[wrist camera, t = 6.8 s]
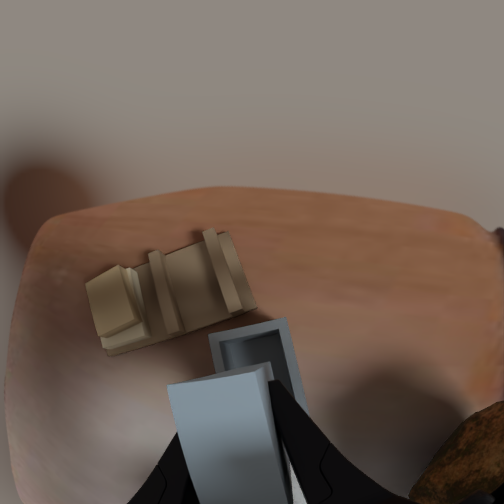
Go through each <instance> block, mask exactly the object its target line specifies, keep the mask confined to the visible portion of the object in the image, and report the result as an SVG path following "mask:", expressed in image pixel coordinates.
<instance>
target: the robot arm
mask: <svg viewBox="0 0 504 504" xmlns="http://www.w3.org/2000/svg"><path fill="white" fill-rule="evenodd" d="M268 387H269V393H270V400H271V407H272V413H273V416H274V419H275V422H276V425H277V427H278V430H279V433H280V436H281V439H282V441H283V444H284V447H285V449H286V452H287V455H288V457H289V460H290V462H291V465H292V468H293V470H294V473H295V475H296V478H297V480H298V483H299V485H300V488H301V490H302V493H303V495H304V498H305V500H306V503H307V504H422V503H418V502H415V501H412V500H409V499H406V498H404V497H401V496H398V495H396V494H394V493H392V492H390V491H388V490H386V489H385V488H383V487H382V486H380V485H379V484H378V483H376V482H375V481H374V480H372V479H371V478H370V477H368V476H367V475H366V474H364V473H363V472H362V471H360V470H359V469H358V468H357V467H355V466H354V465H353V464H352V463H351V462H350V461H349V460H347V459H346V458H345V457H344V456H343V455H342V454H341V452H340V451H339V450H338V449H337V448H336V447H335V446H334V445H333V444H332V443H330V440H329V439H328V438H327V437H326V436H325V435H324V433H323V432H322V431H321V430H320V429H319V428H318V426H317V425H316V424H315V423H314V422H313V420H312V419H311V418H310V417H309V416H308V414H307V413H306V412H305V411H304V410H303V408H302V407H301V406H300V405H299V403H298V402H297V401H296V400H295V399H294V397H293V396H292V395H291V394H290V392H289V391H288V390H287V389H286V387H285V386H284V385H283V383H282V382H281V381H280V380H279V379H275V380H270V381H268ZM127 504H200V502H199V499H198V496H197V493H196V491H195V488H194V485H193V482H192V479H191V476H190V473H189V470H188V467H187V464H186V460H185V457H184V454H183V450H182V447H181V443H180V440H179V436H178V432H177V433H176V434H175V436H174V437H173V439H172V441H171V442H170V444H169V446H168V447H167V449H166V451H165V452H164V454H163V455H162V457H161V459H160V460H159V462H158V465H156V466H155V468H154V470H153V471H152V473H151V474H150V476H149V477H148V479H147V480H146V482H145V483H144V484H143V485H142V487H141V488H140V489H139V490H138V492H137V493H136V494H135V495H134V496H133V498H132V499H131V500H130V501H129V502H128V503H127ZM453 504H504V481H503V482H502V483H501V484H500V485H499V486H498V487H496V488H495V489H494V490H493V491H492V492H490V493H487V492H484V491H482V490H480V489H477V490H475V491H474V492H472V493H470V494H469V495H467V496H465V497H464V498H462V499H460V500H458V501H457V502H455V503H453Z"/></svg>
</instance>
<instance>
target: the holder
mask: <svg viewBox="0 0 504 504" xmlns="http://www.w3.org/2000/svg"><path fill="white" fill-rule="evenodd" d="M208 338H209V343H210V348H211V353H212V358H213V363H214V368H215V372H216V374H217V373H221V372H225V371H228V370H232V369H236V368H241V367H246V366H251V365H256V364H260V363H265V362H269V361H270V363H271V367H272V372H273V376H274V380H275V379H279V380H280V381H281V382H282V383H283V385H284V386H285V387H286V389H287V390H288V391H289V392H290V394H291V395H292V396H293V397H294V399H295V400H296V401H297V402H298V403H299V405H300V406H301V407H302V408H303V410H304V411H305V412H306V413H307V414H308V416H309V411H308V407H307V402H306V398H305V394H304V390H303V385H302V381H301V377H300V373H299V368H298V364H297V360H296V356H295V352H294V348H293V343H292V339H291V335H290V331H289V327H288V323H287V319H286V317H284V318H280V319H275V320H271V321H267V322H263V323H258V324H254V325H250V326H245V327H240V328H236V329H231V330H226V331H221V332H216V333H211V334H208ZM309 417H310V416H309Z"/></svg>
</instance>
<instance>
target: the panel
mask: <svg viewBox="0 0 504 504" xmlns="http://www.w3.org/2000/svg"><path fill="white" fill-rule="evenodd" d="M270 380H274V376H273V372H272V367H271V363H270V361H269V362H265V363H260V364H256V365H251V366H246V367H241V368H236V369H232V370H228V371H225V372H221V373H217V374H213V375H209V376H205V377H201V378H197V379H192V380H188V381H183V382H179V383H174V384H169V385H167V390H168V394H169V399H170V403H171V408H172V412H173V416H174V420H175V424H176V428H177V432H178V436H179V440H180V443H181V447H182V450H183V454H184V457H185V460H186V464H187V467H188V470H189V473H190V476H191V479H192V482H193V485H194V488H195V491H196V493H197V496H198V499H199V502H200V504H293V493H292V482H291V470H290V460H289V457H288V455H287V452H286V449H285V447H284V444H283V441H282V439H281V436H280V433H279V430H278V427H277V425H276V422H275V419H274V416H273V413H272V407H271V400H270V393H269V387H268V381H270Z"/></svg>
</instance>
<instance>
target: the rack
mask: <svg viewBox="0 0 504 504" xmlns="http://www.w3.org/2000/svg"><path fill="white" fill-rule="evenodd" d="M202 233H203V236H204V239H205V240H204V241H201V242H199V243H196V244H193V245H191V246H188V247H186V248H183V249H181V250H178V251H176V252H173V253H171V254H168V255H166V256H165V255H164V254H163V253H162V252H161V251H160V250H156V251H153V252H151V253H148V256H149V261H150V262H148V263H146V264H143V265H141V266H138V267H136V268H134V269H131V268H127V269H124V268H123V267H121V266H120V265H117V266H115V267H113V268H112V269H110V270H108V271H106V272H105V273H103V274H101V275H99V276H98V277H96V278H94V279H92V280H91V281H89V282H87V283H86V284H85V286H86V290H87V295H88V300H89V304H90V308H91V312H92V316H93V320H94V324H95V328H96V331H97V335H98V337H100V338H101V343H102V347H103V348H104V349H106V350H107V354H108V356H115V355H119V354H122V353H125V352H129V351H132V350H136V349H139V348H142V347H146V346H149V345H152V344H156V343H159V342H162V341H165V340H168V339H171V338H174V337H178V336H181V335H184V334H187V333H190V332H193V331H196V330H199V329H202V328H204V327H207V326H210V325H213V324H216V323H219V322H222V321H224V320H227V319H230V318H233V317H236V316H238V315H241V314H244V313H246V312H249V311H252V310H254V309H257V306H256V303H255V301H254V298H253V295H252V293H251V290H250V287H249V285H248V282H247V279H246V277H245V274H244V271H243V269H242V266H241V263H240V261H239V258H238V255H237V253H236V250H235V247H234V245H233V242H232V239H231V237H230V234H229V231H227V232H225V233H222V234H219V235H217V233H216V231H215V229H214V228H211V229H208V230H206V231H203V232H202Z"/></svg>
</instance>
